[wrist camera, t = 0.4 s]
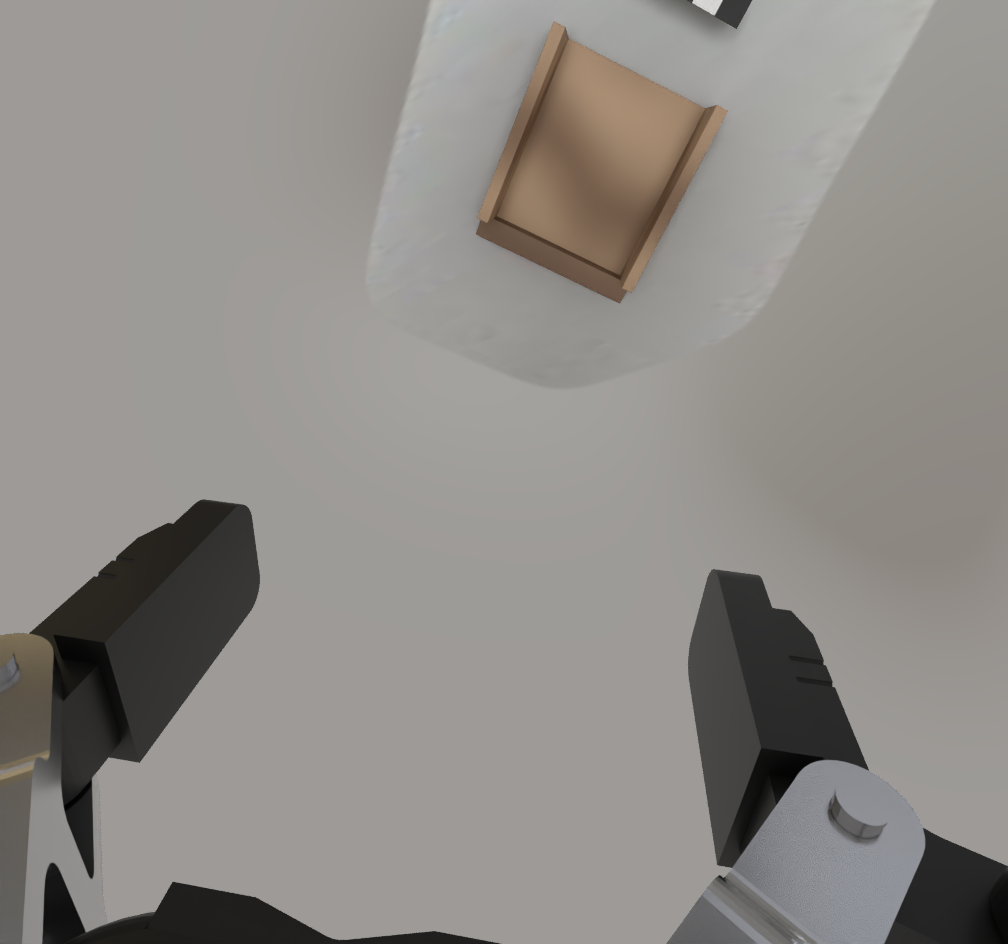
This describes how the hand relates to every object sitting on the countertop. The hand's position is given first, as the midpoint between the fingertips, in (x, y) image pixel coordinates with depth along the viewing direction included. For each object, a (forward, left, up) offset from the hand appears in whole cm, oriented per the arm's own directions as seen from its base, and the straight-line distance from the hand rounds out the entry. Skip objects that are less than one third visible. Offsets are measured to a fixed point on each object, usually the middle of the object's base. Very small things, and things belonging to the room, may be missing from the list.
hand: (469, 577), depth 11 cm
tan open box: (-4, -1, -25) cm, 26 cm away
